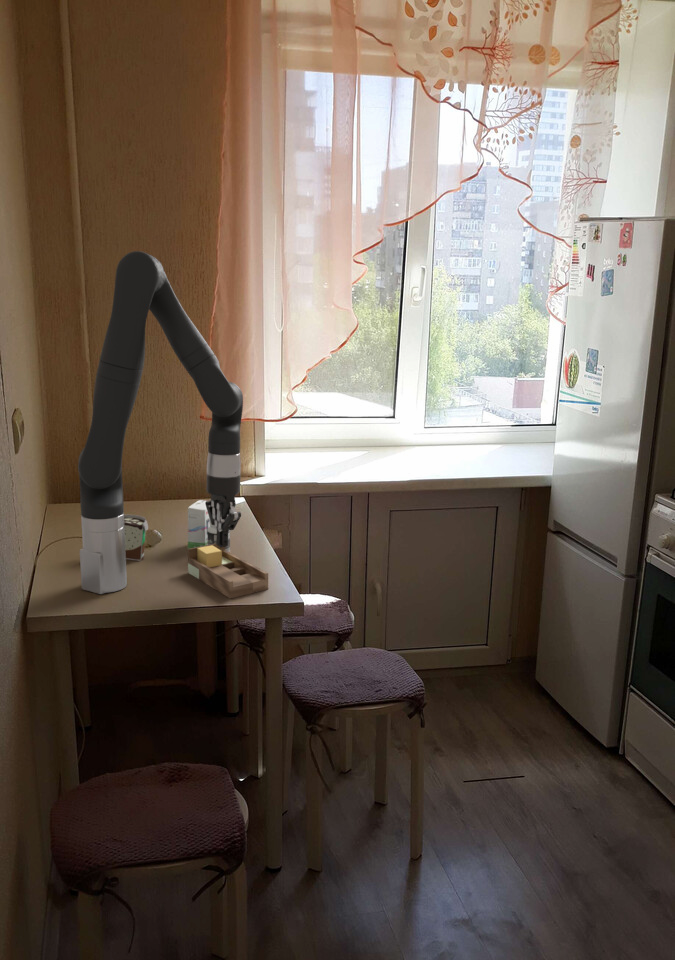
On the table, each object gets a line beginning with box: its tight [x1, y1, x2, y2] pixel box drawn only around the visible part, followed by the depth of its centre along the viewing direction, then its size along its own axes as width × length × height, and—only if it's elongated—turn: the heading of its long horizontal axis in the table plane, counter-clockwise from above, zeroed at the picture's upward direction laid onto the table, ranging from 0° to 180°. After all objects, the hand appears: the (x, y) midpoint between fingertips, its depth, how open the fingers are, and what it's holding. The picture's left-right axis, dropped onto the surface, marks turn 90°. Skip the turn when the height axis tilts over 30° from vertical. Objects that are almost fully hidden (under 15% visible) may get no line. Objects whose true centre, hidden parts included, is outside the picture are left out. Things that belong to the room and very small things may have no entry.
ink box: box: [187, 499, 210, 550], centre depth 217 cm, size 9×5×12 cm, turn 168°
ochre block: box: [197, 545, 222, 567], centre depth 198 cm, size 5×4×4 cm
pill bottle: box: [207, 519, 231, 553], centre depth 211 cm, size 6×6×10 cm
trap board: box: [187, 543, 269, 599], centre depth 194 cm, size 20×10×6 cm, turn 37°
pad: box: [187, 556, 232, 580], centre depth 200 cm, size 6×9×2 cm, turn 127°
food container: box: [124, 514, 149, 562], centre depth 210 cm, size 12×6×10 cm, turn 74°
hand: (222, 546), depth 189 cm, fingers closed
